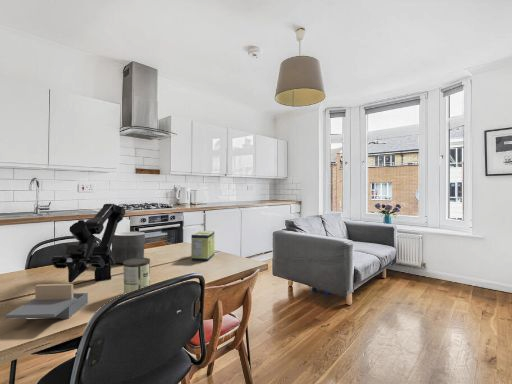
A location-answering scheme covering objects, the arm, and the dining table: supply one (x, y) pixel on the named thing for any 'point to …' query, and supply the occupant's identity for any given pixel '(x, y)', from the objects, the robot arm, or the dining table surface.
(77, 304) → the mailer box
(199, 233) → the protein box
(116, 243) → the planter
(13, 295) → the dining table surface
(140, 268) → the coffee can
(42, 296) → the lid
